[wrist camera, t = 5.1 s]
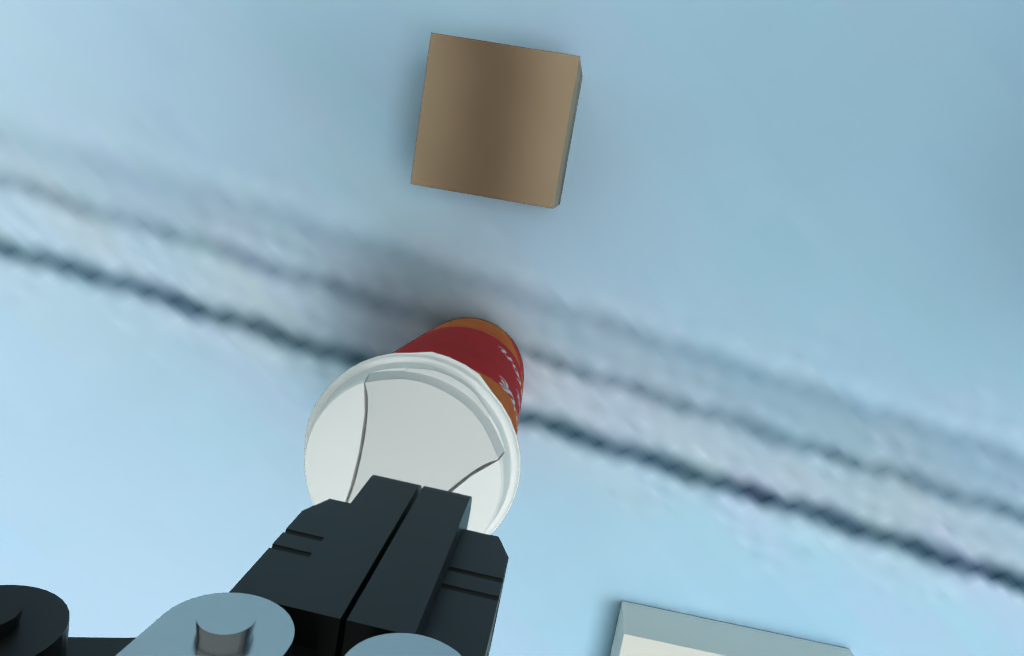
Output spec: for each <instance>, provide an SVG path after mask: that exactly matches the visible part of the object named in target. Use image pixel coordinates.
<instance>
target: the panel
mask: <svg viewBox="0 0 1024 656" xmlns="http://www.w3.org/2000/svg"><path fill="white" fill-rule="evenodd" d="M610 656H853V654H852V652H851V650H850V649H847V648H842V647H837V646H833V645H828V644H823V643H818V642H814V641H809V640H804V639H800V638H795V637H790V636H785V635H781V634H776V633H771V632H767V631H762V630H757V629H752V628H748V627H743V626H738V625H734V624H729V623H724V622H719V621H715V620H710V619H705V618H700V617H696V616H691V615H686V614H682V613H677V612H672V611H667V610H663V609H658V608H653V607H649V606H644V605H639V604H634V603H630V602H625V601H622V604H621V608H620V613H619V617H618V622H617V626H616V631H615V635H614V640H613V644H612V649H611V654H610Z"/></svg>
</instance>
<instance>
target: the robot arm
mask: <svg viewBox="0 0 1024 656" xmlns="http://www.w3.org/2000/svg"><path fill="white" fill-rule="evenodd" d="M471 503H472V496H467V495H463V494H459V493H454V492H450V491H445V490H441V489H436V488H432V487H427V486H424V487H423V488H422V487H421V485H418V484H413V483H409V482H404V481H400V480H395V479H391V478H386V477H382V476H378V475H372V476H371V477H370V479H369V480H368V481H367V482H366V484H365V485H364V486H363V488H362V489H361V490H360V492H359V493H358V494H357V495H356V497H355V498H354V499H353V501H352V502H351V503H347V502H343V501H338V500H334V499H328V500H326V501H323V502H321V503H319V504H317V505H314V506H312V507H310V508H308V509H305V510H303V511H302V512H301V513H300V514H299V515H298V516H297V517H296V519H295V520H294V521H293V522H292V523H291V524H290V525H289V526H288V527H287V529H286V532H285V533H284V532H283V533H282V534H281V535H280V536H279V537H278V539H277V540H276V541H275V542H274V543H273V545H272V548H269V549H268V550H267V551H266V552H265V553H264V554H263V555H262V556H261V558H260V559H259V560H258V561H257V562H256V563H255V564H254V565H253V566H252V568H251V569H250V570H249V571H248V572H247V573H246V574H245V575H244V576H243V578H242V579H241V580H240V581H239V582H238V583H237V584H236V585H235V587H234V588H233V589H232V590H231V591H230V592H229V593H214V594H209V595H203V596H199V597H196V598H192V599H190V600H187V601H185V602H182V603H180V604H178V605H176V606H175V607H173V608H171V609H170V610H169V611H167V612H166V613H165V614H163V615H162V616H161V617H160V618H159V619H158V620H156V621H155V622H154V623H153V624H152V625H151V626H149V627H148V628H147V629H146V630H145V631H144V632H142V633H141V634H140V635H139V636H138V637H137V638H86V637H68V631H69V610H68V607H67V605H66V604H65V603H64V601H63V600H62V599H61V598H59V597H58V596H56V595H55V594H53V593H51V592H49V591H46V590H43V589H39V588H36V587H29V586H21V585H0V656H489V652H490V647H491V642H492V637H493V632H494V627H495V622H496V617H497V612H498V607H499V603H500V598H501V593H502V588H503V583H504V578H505V573H506V568H507V563H508V556H507V554H506V551H505V549H504V547H503V545H502V543H501V541H500V539H499V537H497V536H493V535H488V534H484V533H479V532H475V531H471V530H467V527H468V521H469V516H470V510H471Z"/></svg>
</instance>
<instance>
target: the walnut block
mask: <svg viewBox="0 0 1024 656" xmlns="http://www.w3.org/2000/svg"><path fill="white" fill-rule="evenodd" d="M581 82H582V70H581V62H580V56H575V55H569V54H563V53H556V52H550V51H544V50H538V49H531V48H525V47H519V46H512V45H506V44H500V43H493V42H487V41H481V40H475V39H468V38H462V37H456V36H449V35H443V34H437V33H431V37H430V45H429V52H428V59H427V67H426V74H425V81H424V89H423V96H422V103H421V111H420V118H419V125H418V133H417V140H416V147H415V155H414V162H413V169H412V177H411V184H415V185H420V186H426V187H432V188H437V189H443V190H449V191H455V192H460V193H466V194H472V195H478V196H483V197H489V198H495V199H501V200H506V201H512V202H518V203H523V204H529V205H535V206H541V207H546V208H552V209H553V208H555V207H556V206H558V205H559V204H560V199H561V194H562V188H563V183H564V177H565V171H566V166H567V160H568V155H569V149H570V143H571V138H572V132H573V127H574V121H575V115H576V110H577V104H578V99H579V93H580V87H581Z"/></svg>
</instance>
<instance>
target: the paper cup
mask: <svg viewBox="0 0 1024 656" xmlns="http://www.w3.org/2000/svg"><path fill="white" fill-rule="evenodd" d="M523 381H524V370H523V362H522V358H521V355H520V353H519V350H518V348H517V346H516V345H515V343H514V342H513V340H512V339H511V338H510V337H509V335H508V334H507V333H505V332H504V331H503V330H502V329H501V328H499V327H498V326H496V325H494V324H492V323H490V322H487V321H484V320H481V319H475V318H461V319H456V320H452V321H449V322H446V323H444V324H442V325H440V326H438V327H436V328H434V329H432V330H430V331H428V332H427V333H425V334H423V335H422V336H420V337H418V338H416V339H415V340H413V341H411V342H410V343H408V344H406V345H405V346H403V347H401V348H400V349H398V350H396V351H395V352H393V353H391V354H386V355H380V356H377V357H374V358H371V359H368V360H365V361H362V362H360V363H359V364H357V365H355V366H353V367H351V368H349V369H348V370H346V371H345V372H344V373H343V374H341V375H340V376H339V377H338V378H336V379H335V380H334V381H333V382H332V383H331V384H330V385H329V387H328V388H327V389H326V390H325V391H324V392H323V394H322V395H321V397H320V399H319V400H318V402H317V403H316V405H315V407H314V409H313V412H312V414H311V416H310V419H309V422H308V426H307V431H306V435H305V448H304V455H305V462H304V466H305V477H306V482H307V486H308V490H309V494H310V496H311V499H312V501H313V504H314V505H317V504H319V503H321V502H323V501H326V500H328V499H334V500H338V501H343V502H347V503H351V502H352V501H353V499H354V498H355V497H356V495H357V494H358V493H359V492H360V490H361V489H362V488H363V486H364V485H365V484H366V482H367V481H368V480H369V479H370V477H371V476H372V475H378V476H382V477H386V478H391V479H395V480H400V481H404V482H409V483H413V484H418V485H421V487H422V488H423V487H424V486H427V487H432V488H436V489H441V490H445V491H450V492H454V493H459V494H463V495H467V496H472V503H471V510H470V516H469V521H468V527H467V530H471V531H475V532H479V533H484V534H488V535H490V534H491V533H492V532H493V531H494V530H496V529H497V527H498V526H499V525H500V523H501V522H502V521H503V519H504V518H505V516H506V515H507V513H508V511H509V509H510V507H511V505H512V503H513V501H514V498H515V495H516V491H517V488H518V485H519V477H520V469H521V467H520V450H519V445H518V440H517V430H518V423H519V416H520V408H521V401H522V392H523Z"/></svg>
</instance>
